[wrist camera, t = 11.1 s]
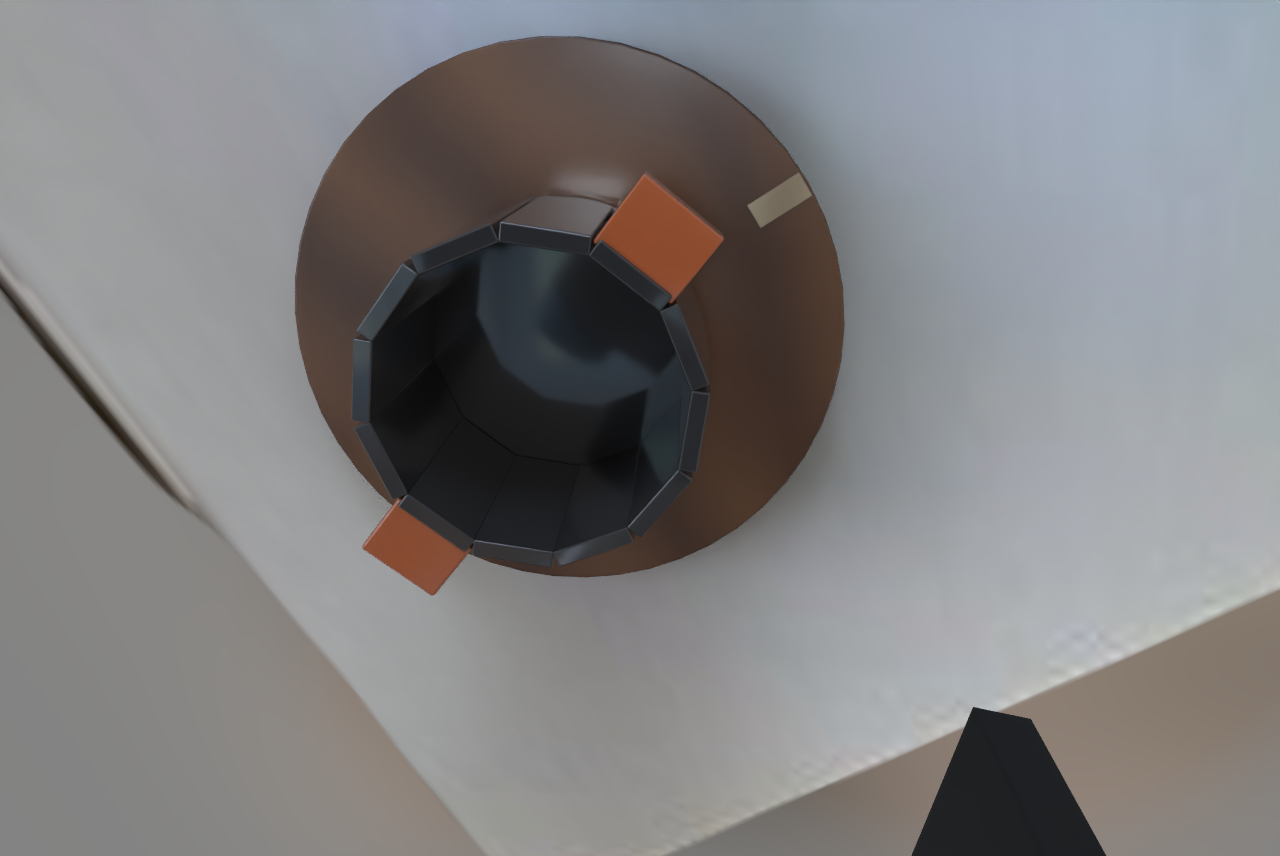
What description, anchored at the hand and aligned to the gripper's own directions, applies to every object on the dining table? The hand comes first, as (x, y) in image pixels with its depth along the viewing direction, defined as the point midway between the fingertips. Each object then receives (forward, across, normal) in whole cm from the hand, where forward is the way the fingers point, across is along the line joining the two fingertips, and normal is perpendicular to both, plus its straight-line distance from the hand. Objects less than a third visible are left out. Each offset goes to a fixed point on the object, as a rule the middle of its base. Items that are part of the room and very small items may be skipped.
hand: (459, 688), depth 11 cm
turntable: (+20, -1, 0) cm, 20 cm away
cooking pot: (+18, -1, 0) cm, 18 cm away
